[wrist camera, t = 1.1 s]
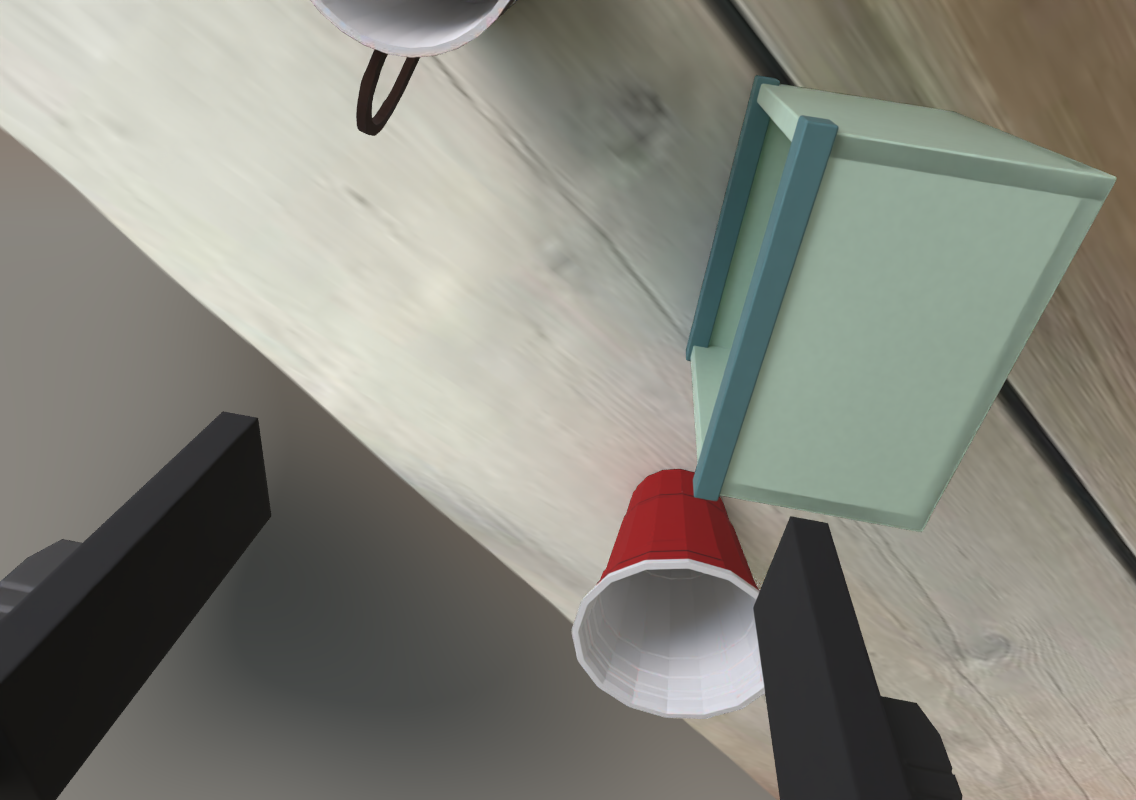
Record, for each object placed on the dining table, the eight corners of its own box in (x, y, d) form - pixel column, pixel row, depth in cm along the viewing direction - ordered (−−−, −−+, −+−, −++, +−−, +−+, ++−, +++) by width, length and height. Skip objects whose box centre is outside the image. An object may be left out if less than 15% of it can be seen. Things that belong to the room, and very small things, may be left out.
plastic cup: (736, 413, 40) (760, 555, 30) (776, 544, 45) (809, 706, 35) (568, 454, 43) (537, 596, 33) (622, 573, 48) (610, 729, 38)
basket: (754, 74, 31) (806, 120, 20) (957, 106, 30) (1126, 171, 19) (685, 350, 38) (693, 498, 27) (846, 379, 38) (921, 539, 27)
